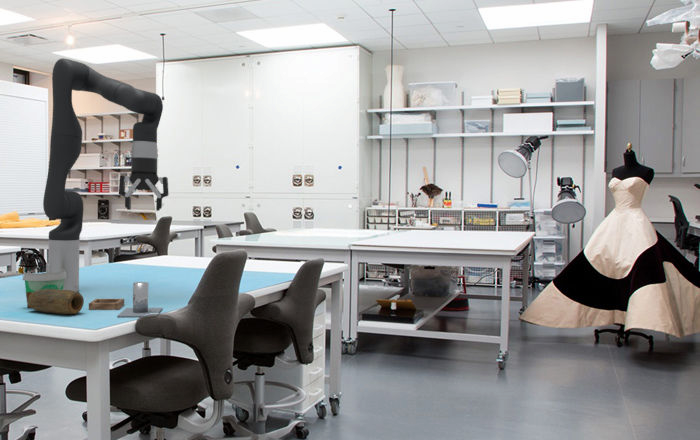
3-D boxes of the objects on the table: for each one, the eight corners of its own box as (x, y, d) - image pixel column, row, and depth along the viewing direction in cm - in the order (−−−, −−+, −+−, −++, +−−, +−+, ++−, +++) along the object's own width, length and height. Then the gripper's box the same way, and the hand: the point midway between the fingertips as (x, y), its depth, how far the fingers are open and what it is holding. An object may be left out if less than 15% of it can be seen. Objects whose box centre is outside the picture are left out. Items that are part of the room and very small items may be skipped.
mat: (117, 317, 163) (117, 315, 163) (126, 309, 175) (126, 307, 175) (156, 317, 165) (156, 315, 165) (162, 309, 176) (162, 307, 176)
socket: (88, 309, 172) (88, 303, 172) (95, 304, 180) (96, 298, 180) (118, 309, 174) (118, 303, 173) (124, 304, 181) (124, 298, 181)
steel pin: (131, 312, 167) (131, 283, 167) (134, 310, 171) (134, 281, 171) (146, 313, 168) (147, 284, 168) (149, 310, 172) (149, 282, 172)
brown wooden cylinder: (87, 313, 168) (88, 289, 168) (69, 317, 162) (70, 292, 161) (42, 309, 172) (43, 285, 172) (23, 313, 166) (23, 288, 165)
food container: (34, 310, 169) (35, 274, 168) (22, 308, 172) (22, 272, 171) (75, 305, 179) (75, 271, 179) (62, 302, 182) (63, 269, 182)
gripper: (117, 155, 182) (116, 209, 182) (166, 157, 184) (165, 211, 184) (122, 157, 189) (121, 209, 190) (170, 158, 191) (169, 210, 192)
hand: (143, 210), depth 187 cm, fingers open, 8 cm apart
